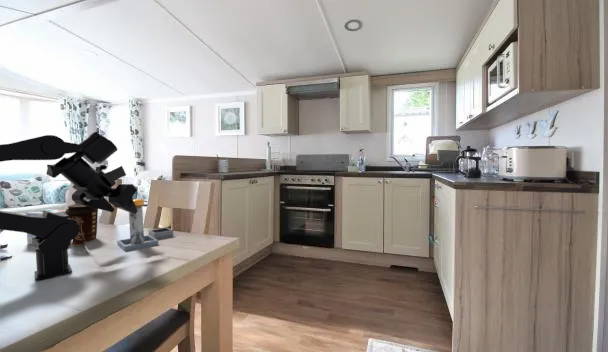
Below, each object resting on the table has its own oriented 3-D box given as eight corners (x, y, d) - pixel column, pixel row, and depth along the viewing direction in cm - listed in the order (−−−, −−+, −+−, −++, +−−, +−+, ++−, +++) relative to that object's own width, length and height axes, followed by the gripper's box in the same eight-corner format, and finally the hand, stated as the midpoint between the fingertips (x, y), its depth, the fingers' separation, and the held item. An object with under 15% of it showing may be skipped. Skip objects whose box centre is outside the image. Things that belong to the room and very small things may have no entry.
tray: (158, 248, 87) (158, 240, 87) (124, 255, 81) (124, 246, 81) (149, 242, 93) (149, 235, 93) (117, 248, 87) (117, 240, 87)
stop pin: (148, 246, 87) (145, 200, 86) (131, 249, 84) (128, 201, 83) (143, 243, 90) (141, 198, 89) (127, 246, 87) (124, 200, 86)
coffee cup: (72, 241, 95) (70, 203, 95) (102, 238, 99) (100, 202, 98) (63, 248, 87) (61, 207, 87) (96, 245, 91) (94, 205, 90)
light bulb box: (26, 244, 93) (24, 212, 92) (49, 239, 99) (47, 208, 99) (50, 246, 90) (49, 213, 90) (72, 240, 97) (71, 209, 96)
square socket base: (180, 238, 98) (180, 229, 97) (155, 243, 92) (155, 234, 92) (170, 234, 104) (170, 225, 104) (147, 238, 98) (146, 229, 98)
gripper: (129, 154, 74) (164, 191, 85) (81, 155, 80) (119, 190, 91) (100, 186, 67) (142, 222, 78) (50, 184, 73) (95, 218, 84)
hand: (124, 211), depth 83 cm, fingers open, 9 cm apart
